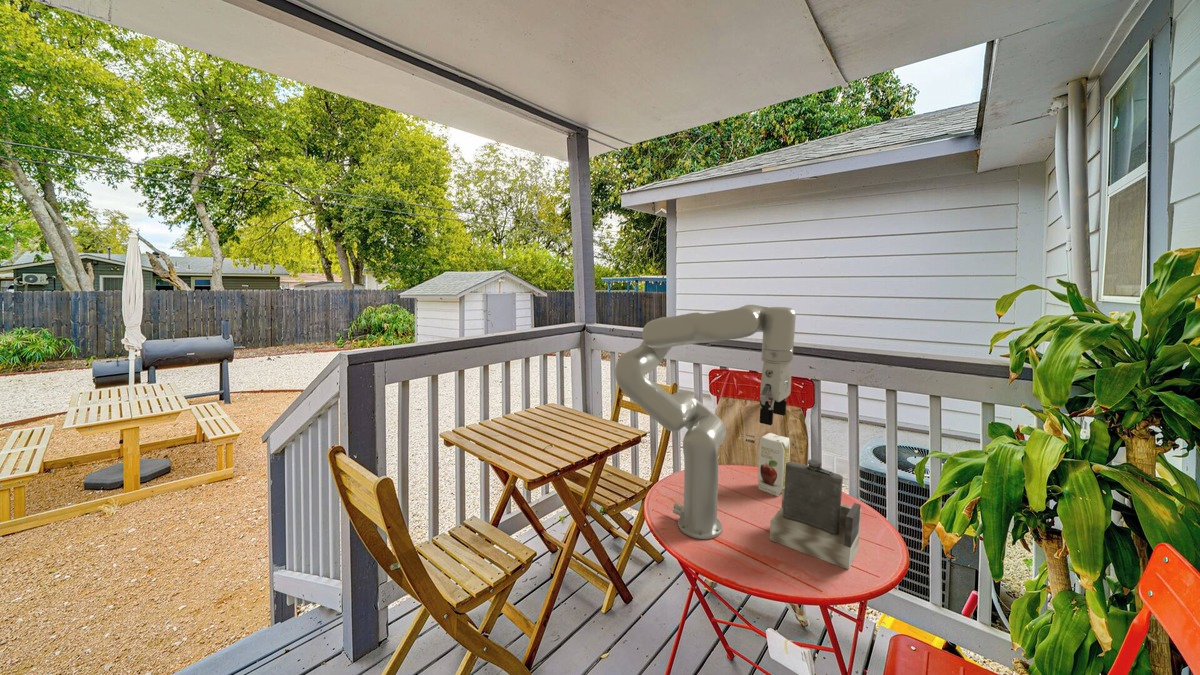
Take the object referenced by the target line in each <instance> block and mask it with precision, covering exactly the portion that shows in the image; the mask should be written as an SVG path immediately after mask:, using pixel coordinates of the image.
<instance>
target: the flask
mask: <svg viewBox="0 0 1200 675" xmlns="http://www.w3.org/2000/svg"><path fill="white" fill-rule="evenodd" d="M807 464H808V465H807ZM807 464H803V463H799V462H793V461H789V462H787V463H786V471H785V488H784V506H783V517H784V518H785V519H788V520H792V521H796V522H799V523H803V524H806V525H809V526H812V527H814V528H817V529H820V530H822V531H825V532H827V533H829V534H832V535H838V534H839V522H840V509H841V504H842V496H843V495H842V494H843V481H844V480H843V479H844V476H842V475H841V474H838V473H836V472H833V471H830V470H827V469H824V468H821V466H822V461H820V460H817V459H815V458H814V459H813V458H812V459H811V458H810V459H808V460H807Z"/></svg>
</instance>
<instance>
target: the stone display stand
mask: <svg viewBox="0 0 1200 675" xmlns="http://www.w3.org/2000/svg"><path fill="white" fill-rule="evenodd" d="M784 488H785V487H784ZM784 488H783V492H782V494H781V507H780V509H779V510H778V511H777V512H776V513H775V514H774V515H773V517H772V518H771V519H770V523H769V524H770V527H769V530H770V531H769V540H770V541H772V542H774V543H778V544H780V545H783V546H785V547H787V548H790V549H793V550H794V551H795V550H796V551H798V552H801V553H804V554H807V555H808V556H811V557H814V558H815V559H816V558H817V559H820V560H821V561H825V562H827V563H829V564H833V565H835V566H838V567H841V568H844V569H845V570H850V567H851V566H852V564H853V562H854V560H855V557H856V556H857V554H858V552H859V541H860V532H861V531H860V529H861V521H862V520H861V519H862V518H861V517H862V516H861V515H862V508H861V506H862V505H861V504H859V503H856V502H854V503H853V504H852V506H851V505H847V504H844V503H841V509H840V522H839V534H838V535H832V534H829V533H827V532H825V531H822V530H820V529H817V528H814V527H812V526H809V525H806V524H803V523H799V522H796V521H792V520H788V519H785V518H784V517H783V506H784Z"/></svg>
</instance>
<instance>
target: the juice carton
mask: <svg viewBox="0 0 1200 675" xmlns="http://www.w3.org/2000/svg"><path fill="white" fill-rule="evenodd" d="M790 444H791V443H790V437H786V436H782V435H781V436H780V435H777V434H775V433H773V432H768V433H766V434H765V435H763V436H761V438H760V440H759V451H758V452H759V454H758V476H757V482H758V490H759V491H762V492H764V493H767V494H769V495H772V496H775V497H779V496H780V495H782V492H783V488H784V487H785V471H786V463H787V462H790V454H791V453H790V452H791V451H790V450H791V445H790Z"/></svg>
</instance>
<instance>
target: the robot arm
mask: <svg viewBox="0 0 1200 675" xmlns="http://www.w3.org/2000/svg"><path fill="white" fill-rule="evenodd" d="M796 315H797V314H796V311H795V309H793V308H792V307H784V306H771V307H768V306H761V305H759V304H758V305H756V304H745V305H743V306H741V307H738V308H733V309H729V310H722V311H717V312H716V311H715V312H709V313H702V312H701V313H700V312H691V313H690V312H689V313H685V314H680V315H674V316H662V317H659V318H655V319H652V320H649V321H648V322H647V323H646V324H645V325H644V327H643V329H642V331H641V332H642V333H641V336H642V340H643V341H642V342H641V343H640V344H639V346H638V347H636V348H633V349H631V350H628V351H626V352H625V353H623V354H622V355H621V356H620V357H619V359H618V360H617V362H616V365H615V369H614V370H615V371H614V372H615V373H614V374H615V381H616V383H617V385H618V387H619V389H620V390H621V391H622V392H623V394H625V395H626V396H627V397H628V398H629V399H630V400H631V401H633V402H634V403H635V404H636V405H638V406H639V407H640V408H641V409H642V410H643V411H644V412H646V413H647V415H649V417H652V419H654V420H655V421H656V422H657V423H658V424H659V425H661V426H662V427H663V428H664V429H666V431H667V430H668V431H669V432H679V431H681V430H682V429H684V428H686V429H687V431H686V433H685V434H684V436H683V440H682V452H683V459H684V460H683V462H684V470H683V472H684V477H683V478H684V480H683V481H684V482H683V484H684V485H683V488H684V489H683V505H682V504H680V503H677V502H675V503H674V504H673V507H672V508H673V509H672V513H673V514H675V515H678V516H679V517H678V520H677V525H678V526H679V527H678V529H679V528H680V529H679V530H680V532H682V533H683V534H684V535H686V536H687V537H691V538H694V539H698V540H709V539H710V540H711V539H714V538H716V537H718V536H719V535H721V533H722V532H723V524H722V522H721V521H720V520H719V519H718V498H719V497H718V496H719V495H718V494H719V493H718V491H719V489H718V488H719V463H718V462H719V461H718V451H719V448H720V446H721V444H722V443H723V442H724V439H725V438H726V435H727V434H726V433H727V429H726V425H725V423H724V422H723V420H722V419H721V418H720V416H718V415H717V414H715V413H714V412H713V411H712V410H710V409H709V408H708V407H706V406H705V405H704V403H702V402H701V401H700V400H698V399H697V398H696V397H695V396H693V395H691V394H689V393H687V392H684V391H683V392H682V391H680V392H679V391H678V392H674V393H672V394H671V393H669V392H668V391H667V390H665V389H664V388H663V387H662V386H661V385H660V384H658V383H657V382H655V381H653V380H651V379H649V378H647V377H646V375H647V374H649V373H651V372H653V371H654V370H656V368H657V367H659V365H660V364H661V363H662V361H663V359H664V358H665V357H666V356H667V354H668V353H669V352H670V350H671V349H672V347H680V346H685V345H693V344H694V345H695V344H705V343H713V342H723V341H731V340H737V339H744V338H747V337H748V338H749V337H751V336H753V335H754V334H756V333H762V342H761V361H762V362H763V365H762V371H761V380H760V394H759V400H760V401H759V404H760V405H759V420H758V421H759V423H760V424H763V425H768V426H772V425H773V424H774V423H773V421H774V415H777V416H778V415H779V416H786V414H787V413H786V412H787V402H788V401H787V400H788V397H789V396H790V395H791V392H792V391H791V390H792V363H793V358H794V343H795V331H796V319H797V316H796ZM769 402H770V403H769Z"/></svg>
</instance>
